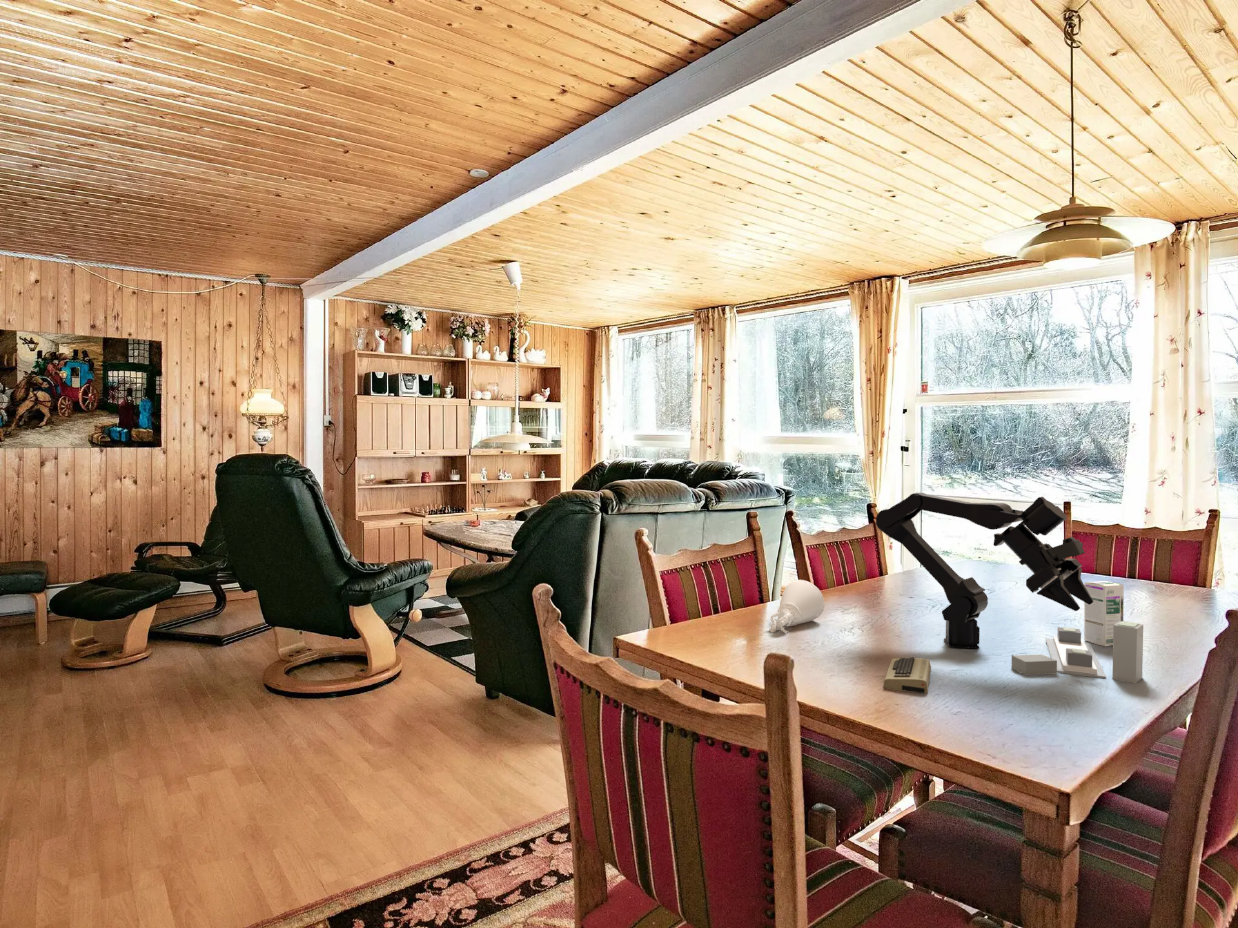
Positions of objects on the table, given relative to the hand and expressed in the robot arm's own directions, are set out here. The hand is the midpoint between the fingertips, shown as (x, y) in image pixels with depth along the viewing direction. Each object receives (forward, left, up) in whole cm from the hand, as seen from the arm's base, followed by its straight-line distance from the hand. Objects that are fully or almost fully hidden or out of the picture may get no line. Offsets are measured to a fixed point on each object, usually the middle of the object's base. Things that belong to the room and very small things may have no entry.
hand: (1085, 606), depth 156 cm
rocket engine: (-61, +26, -14) cm, 68 cm away
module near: (-1, -1, -12) cm, 12 cm away
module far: (+4, +19, -12) cm, 22 cm away
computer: (-38, -14, -14) cm, 43 cm away
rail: (+1, +9, -13) cm, 16 cm away
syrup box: (+13, +24, -14) cm, 30 cm away
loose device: (-11, -3, -14) cm, 18 cm away
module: (+6, -5, -13) cm, 16 cm away
